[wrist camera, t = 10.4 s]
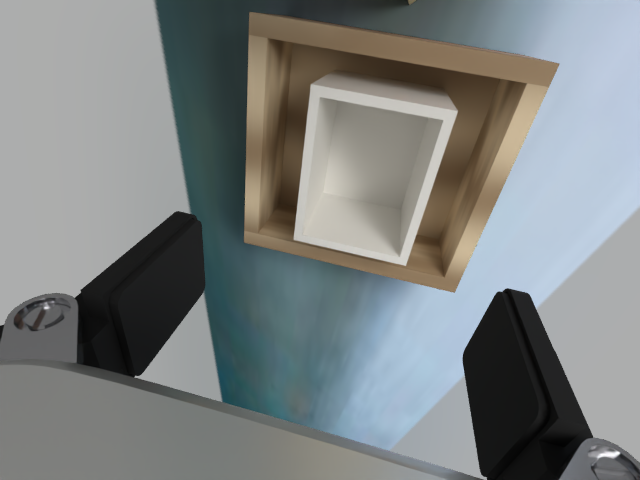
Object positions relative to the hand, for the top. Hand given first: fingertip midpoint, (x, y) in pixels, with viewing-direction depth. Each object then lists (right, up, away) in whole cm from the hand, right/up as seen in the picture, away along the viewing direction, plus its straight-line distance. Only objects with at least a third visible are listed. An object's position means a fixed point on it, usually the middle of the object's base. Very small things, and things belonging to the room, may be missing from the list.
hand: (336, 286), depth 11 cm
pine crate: (+3, +9, +14) cm, 17 cm away
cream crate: (+3, +8, +14) cm, 16 cm away
